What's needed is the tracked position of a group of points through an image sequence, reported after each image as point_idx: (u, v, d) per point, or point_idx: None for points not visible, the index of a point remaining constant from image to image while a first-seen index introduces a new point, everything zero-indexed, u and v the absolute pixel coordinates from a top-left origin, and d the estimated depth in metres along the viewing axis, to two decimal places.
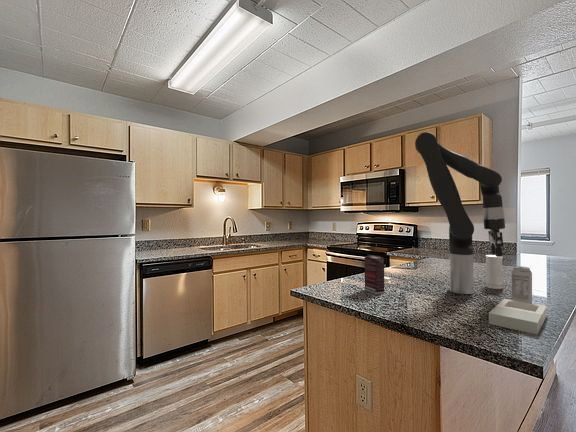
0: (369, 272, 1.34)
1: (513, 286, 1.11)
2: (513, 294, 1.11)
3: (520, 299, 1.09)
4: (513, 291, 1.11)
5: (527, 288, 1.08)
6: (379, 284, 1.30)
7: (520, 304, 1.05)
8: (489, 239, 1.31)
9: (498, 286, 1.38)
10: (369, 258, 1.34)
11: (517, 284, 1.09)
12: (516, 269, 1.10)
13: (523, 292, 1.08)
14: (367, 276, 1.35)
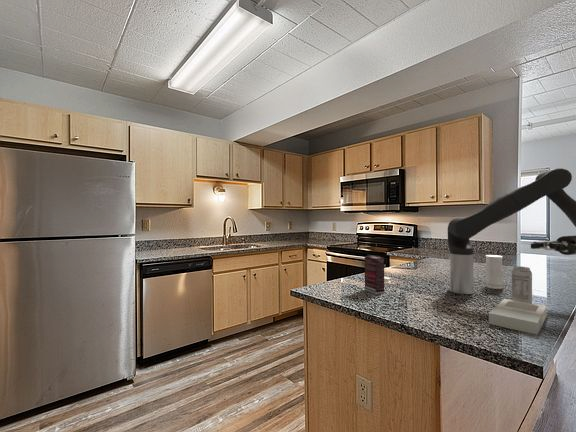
0: (369, 272, 1.34)
1: (513, 286, 1.11)
2: (513, 294, 1.11)
3: (520, 299, 1.09)
4: (513, 291, 1.11)
5: (527, 288, 1.08)
6: (379, 284, 1.30)
7: (520, 304, 1.05)
8: (547, 241, 1.18)
9: (498, 286, 1.38)
10: (369, 258, 1.34)
11: (517, 284, 1.09)
12: (516, 269, 1.10)
13: (523, 292, 1.08)
14: (367, 276, 1.35)
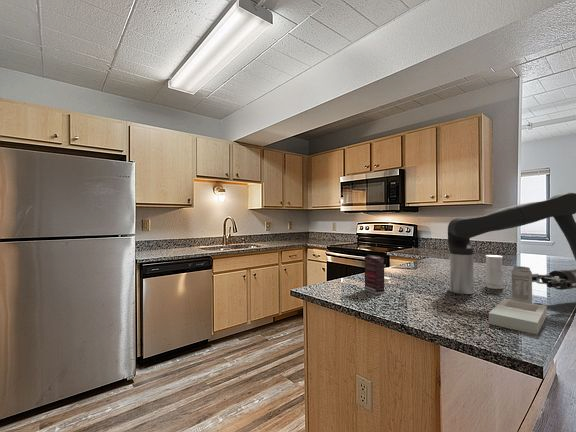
0: (369, 272, 1.34)
1: (513, 286, 1.11)
2: (513, 294, 1.11)
3: (520, 299, 1.09)
4: (513, 291, 1.11)
5: (527, 288, 1.08)
6: (379, 284, 1.30)
7: (520, 304, 1.05)
8: (540, 275, 1.17)
9: (498, 286, 1.38)
10: (369, 258, 1.34)
11: (517, 284, 1.09)
12: (516, 269, 1.10)
13: (523, 292, 1.08)
14: (367, 276, 1.35)
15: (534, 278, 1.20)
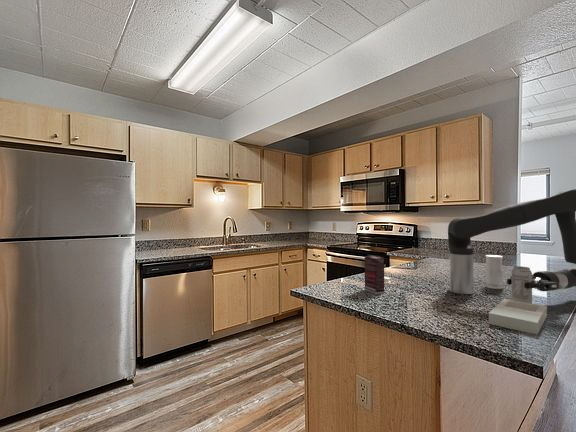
0: (369, 272, 1.34)
1: (513, 286, 1.11)
2: (513, 294, 1.11)
3: (519, 299, 1.09)
4: (513, 291, 1.11)
5: None
6: (379, 284, 1.30)
7: (520, 304, 1.05)
8: None
9: (498, 286, 1.38)
10: (369, 258, 1.34)
11: (517, 284, 1.09)
12: (516, 269, 1.10)
13: (523, 292, 1.08)
14: (367, 276, 1.35)
15: None
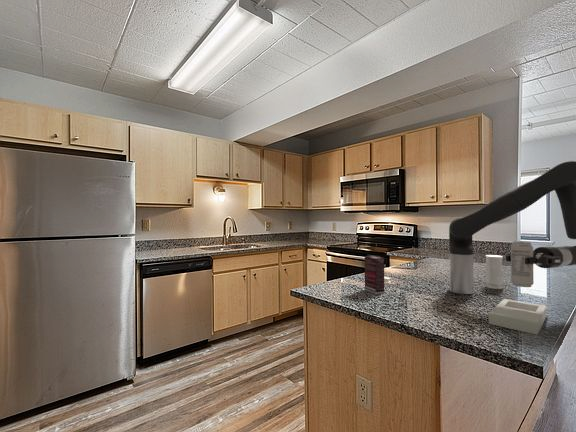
0: (369, 272, 1.34)
1: (513, 262, 1.01)
2: (513, 271, 1.01)
3: (520, 276, 0.99)
4: (513, 268, 1.01)
5: None
6: (379, 284, 1.30)
7: (520, 304, 1.05)
8: None
9: (498, 286, 1.38)
10: (369, 258, 1.34)
11: (517, 260, 1.00)
12: (516, 244, 1.00)
13: (524, 268, 0.98)
14: (367, 276, 1.35)
15: None
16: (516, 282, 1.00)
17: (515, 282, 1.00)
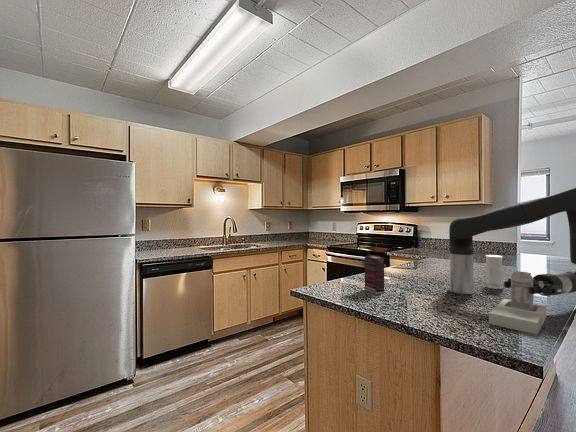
0: (369, 272, 1.34)
1: (512, 293, 1.01)
2: (512, 302, 1.01)
3: (520, 308, 0.99)
4: (512, 299, 1.01)
5: (528, 295, 0.98)
6: (379, 284, 1.30)
7: None
8: None
9: (498, 286, 1.38)
10: (369, 258, 1.34)
11: (517, 291, 1.00)
12: (516, 274, 1.00)
13: (524, 299, 0.98)
14: (367, 276, 1.35)
15: None
16: None
17: None
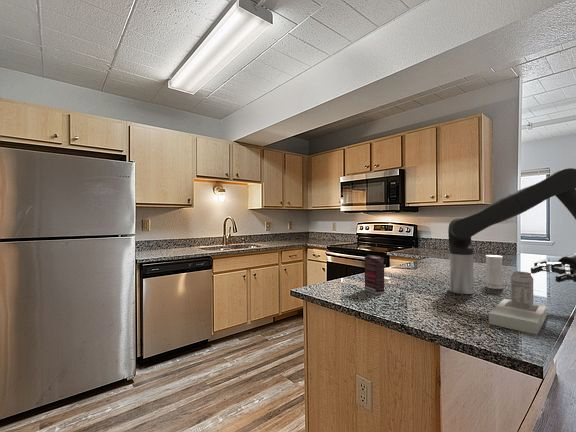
0: (369, 272, 1.34)
1: (512, 293, 1.01)
2: (512, 302, 1.01)
3: (520, 308, 0.99)
4: (512, 299, 1.01)
5: (528, 295, 0.98)
6: (379, 284, 1.30)
7: None
8: (549, 263, 1.10)
9: (498, 286, 1.38)
10: (369, 258, 1.34)
11: (517, 291, 1.00)
12: (516, 275, 1.00)
13: (524, 299, 0.98)
14: (367, 276, 1.35)
15: None
16: None
17: None
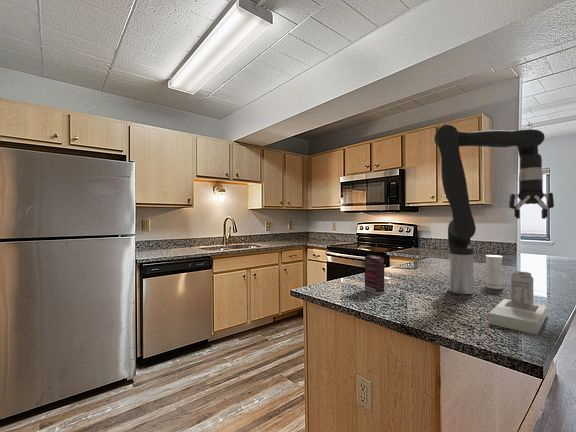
0: (369, 272, 1.34)
1: (512, 293, 1.01)
2: (512, 302, 1.01)
3: (520, 308, 0.99)
4: (512, 299, 1.01)
5: (528, 295, 0.98)
6: (379, 284, 1.30)
7: None
8: (523, 202, 1.22)
9: (498, 286, 1.38)
10: (369, 258, 1.34)
11: (517, 291, 1.00)
12: (516, 274, 1.00)
13: (524, 299, 0.98)
14: (367, 276, 1.35)
15: None
16: None
17: None
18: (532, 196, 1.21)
